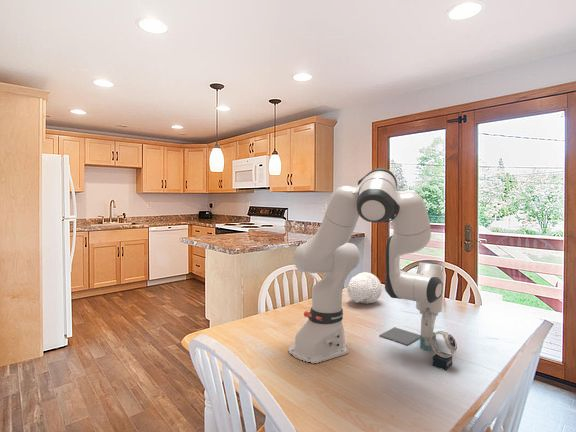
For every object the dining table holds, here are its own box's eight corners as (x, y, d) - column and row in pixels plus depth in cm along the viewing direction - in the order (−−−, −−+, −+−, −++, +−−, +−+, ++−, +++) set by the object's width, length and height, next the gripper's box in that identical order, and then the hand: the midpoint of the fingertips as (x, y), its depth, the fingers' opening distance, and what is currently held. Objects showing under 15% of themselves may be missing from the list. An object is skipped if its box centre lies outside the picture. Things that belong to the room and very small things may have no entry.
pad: (407, 345, 125) (407, 344, 125) (379, 336, 134) (379, 335, 134) (422, 336, 134) (422, 335, 134) (394, 328, 142) (394, 327, 142)
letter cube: (434, 351, 121) (435, 337, 121) (420, 348, 124) (420, 334, 123) (435, 345, 126) (435, 332, 126) (421, 343, 128) (421, 329, 128)
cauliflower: (358, 297, 188) (359, 268, 187) (388, 303, 176) (389, 272, 176) (340, 305, 172) (340, 274, 171) (372, 313, 161) (372, 279, 160)
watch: (452, 372, 106) (453, 338, 106) (427, 363, 112) (427, 331, 111) (458, 366, 110) (459, 333, 110) (433, 358, 116) (434, 327, 115)
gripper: (436, 314, 113) (435, 354, 114) (439, 298, 131) (438, 333, 132) (416, 311, 116) (415, 350, 117) (422, 296, 134) (421, 330, 135)
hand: (428, 341), depth 125 cm, fingers open, 5 cm apart
